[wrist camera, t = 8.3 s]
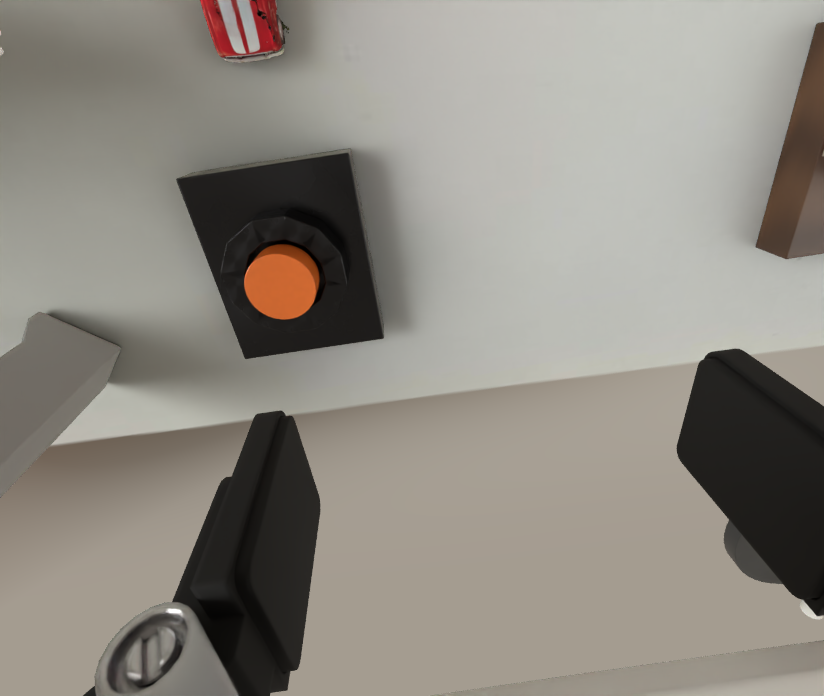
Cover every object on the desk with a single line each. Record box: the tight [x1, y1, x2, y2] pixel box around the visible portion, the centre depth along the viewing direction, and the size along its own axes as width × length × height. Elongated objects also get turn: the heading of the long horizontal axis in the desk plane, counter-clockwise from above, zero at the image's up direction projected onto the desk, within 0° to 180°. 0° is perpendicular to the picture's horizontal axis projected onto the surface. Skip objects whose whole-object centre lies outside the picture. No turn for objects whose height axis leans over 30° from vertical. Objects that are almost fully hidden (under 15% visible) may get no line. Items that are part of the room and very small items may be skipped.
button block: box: [176, 149, 384, 359], centre depth 25 cm, size 11×9×4 cm
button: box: [244, 244, 320, 319], centre depth 23 cm, size 4×4×2 cm
